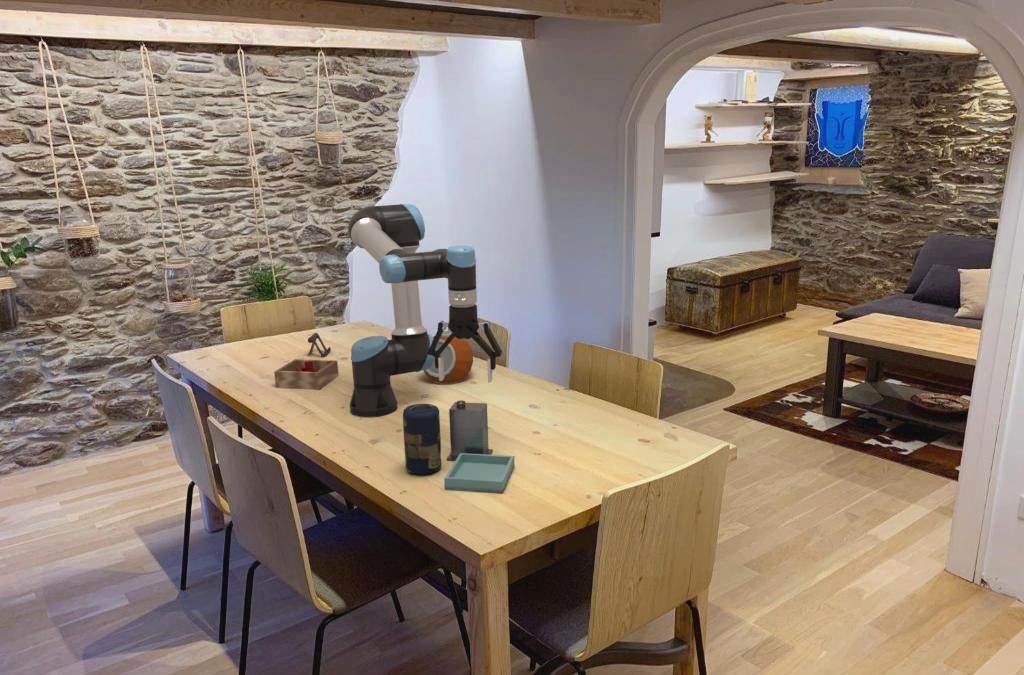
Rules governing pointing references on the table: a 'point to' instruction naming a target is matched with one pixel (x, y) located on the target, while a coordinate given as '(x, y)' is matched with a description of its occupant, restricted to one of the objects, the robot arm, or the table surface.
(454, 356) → the alarm clock
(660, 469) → the table surface
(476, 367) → the table surface
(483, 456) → the tray
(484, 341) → the robot arm
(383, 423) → the table surface
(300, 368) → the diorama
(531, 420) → the table surface
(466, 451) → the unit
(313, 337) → the portable electronic device stand
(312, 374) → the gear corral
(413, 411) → the canister
